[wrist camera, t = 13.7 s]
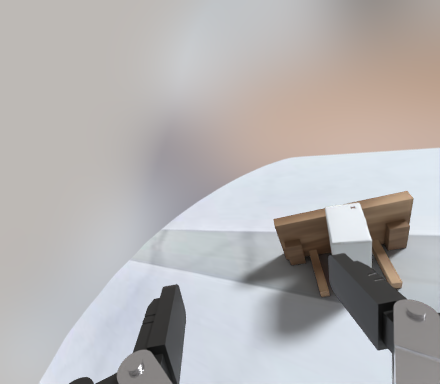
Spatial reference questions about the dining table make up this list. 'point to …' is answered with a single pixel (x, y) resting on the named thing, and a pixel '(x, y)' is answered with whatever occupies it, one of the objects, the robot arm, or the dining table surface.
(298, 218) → the wooden stand
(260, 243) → the dining table surface
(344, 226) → the skincare box
